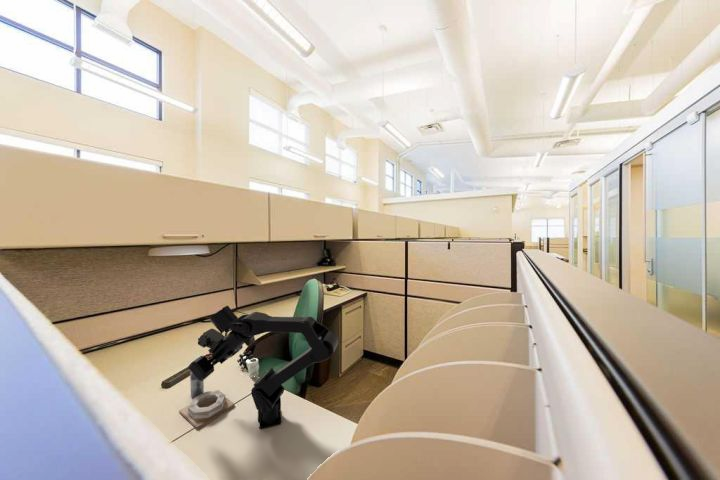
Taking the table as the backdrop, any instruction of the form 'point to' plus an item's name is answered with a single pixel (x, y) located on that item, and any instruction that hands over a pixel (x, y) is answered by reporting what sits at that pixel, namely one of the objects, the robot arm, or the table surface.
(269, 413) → the robot arm
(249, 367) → the valve
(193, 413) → the bore block
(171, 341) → the table surface
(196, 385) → the metal pin
